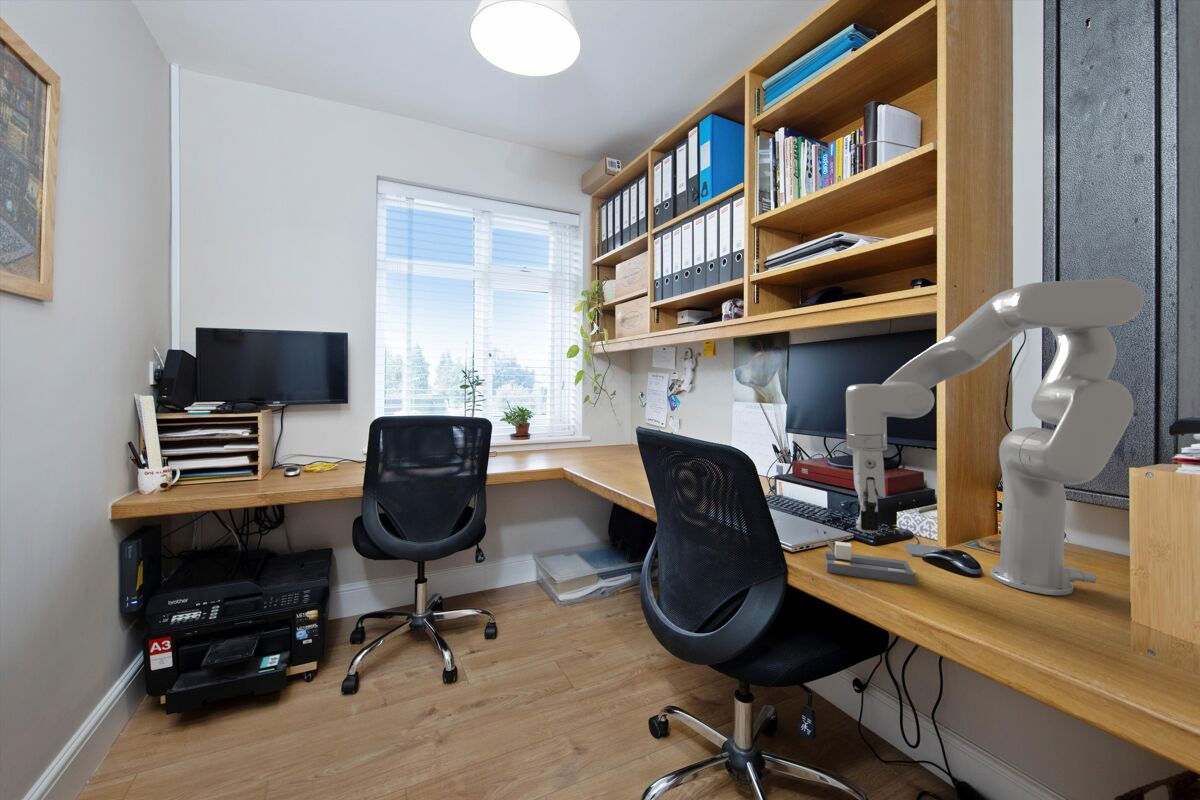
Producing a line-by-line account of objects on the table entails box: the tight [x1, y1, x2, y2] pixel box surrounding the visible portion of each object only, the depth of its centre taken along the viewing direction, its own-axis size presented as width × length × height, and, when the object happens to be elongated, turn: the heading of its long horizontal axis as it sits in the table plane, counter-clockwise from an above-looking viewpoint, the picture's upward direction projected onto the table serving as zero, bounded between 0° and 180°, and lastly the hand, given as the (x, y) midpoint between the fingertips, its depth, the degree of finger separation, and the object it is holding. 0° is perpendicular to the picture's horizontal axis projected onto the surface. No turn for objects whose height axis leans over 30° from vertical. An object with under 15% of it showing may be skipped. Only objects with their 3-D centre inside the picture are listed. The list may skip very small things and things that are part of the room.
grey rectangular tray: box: [824, 550, 916, 585], centre depth 103 cm, size 16×8×2 cm, turn 68°
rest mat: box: [904, 542, 945, 558], centre depth 114 cm, size 8×8×1 cm
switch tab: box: [834, 540, 853, 560], centre depth 105 cm, size 3×2×3 cm
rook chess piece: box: [855, 493, 878, 534], centre depth 103 cm, size 4×4×8 cm
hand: (868, 525), depth 103 cm, fingers closed on rook chess piece, 4 cm apart
